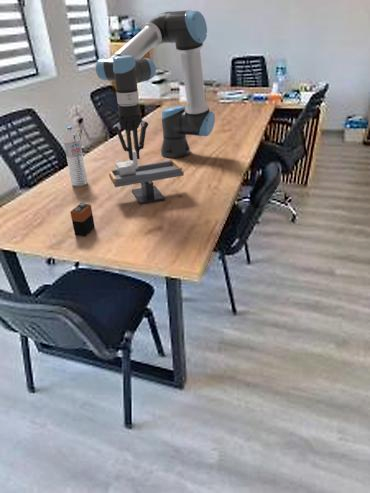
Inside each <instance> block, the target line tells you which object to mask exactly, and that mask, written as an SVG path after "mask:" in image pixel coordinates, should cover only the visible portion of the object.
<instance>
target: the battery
mask: <svg viewBox="0 0 370 493" xmlns="http://www.w3.org/2000/svg"><path fill="white" fill-rule="evenodd" d="M70 217H71V222H72V226H73V231H74V235H75V236H79V237H87V236H88V235H89V234H90V233H92V231H93V230H95V221H94V216H93V209H92V206H91V204H90V203H89V204H88V203H86V202H85V201H82V202H80V203H79V204H78V205H76V206H75V207H74V208H73V209H72V210H71V211H70Z"/></svg>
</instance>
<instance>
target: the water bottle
mask: <svg viewBox="0 0 370 493" xmlns="http://www.w3.org/2000/svg"><path fill="white" fill-rule="evenodd" d="M66 129H67V131H66V132H65V133H64V135H63V137H62V141H63V143H64V149H65V154H66V162H67V165H68V166H67V168H68V172H69V176H70V181H71V184H72V186H73V187H76V188H80V187H84V186H87V184H88V177H87V172H86V166H85V160H84V155H83V151H82V143H81V137H80V135H79V134H78V133H77V132H76V131H75V130H73V128H72V126H67V127H66Z"/></svg>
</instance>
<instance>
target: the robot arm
mask: <svg viewBox="0 0 370 493" xmlns="http://www.w3.org/2000/svg"><path fill="white" fill-rule="evenodd" d="M207 33H208V27H207V22H206V19H205V16H204V15H203V13H202V12H201V11H198V10H190V9H189V10H177V11H175V10H173V11H165V12H162V13H159V14H157V15H156V16H154V17H152V18H151V19H149V20H148V21H147V22H146V23H144V24H143V25H142V27H141V31H139V32H138V33H137V34H135V36H134V37H132V38H131V39H130V40H128V42H126V43H125V44H124V45H123V46H122V47H120V49H118V50H117V51H116V52H115V53H113V54H112V55H111V56H110V57H108V58H105V57H104V58H100V59H98V60H97V61H96V64H95V72H96V75H97V77H98V78H99V79H100V80H101V81H108V82H110V81H111V82H112V81H113V82H115V91H116V92H115V94H116V100H117V102H116V103H117V104H118V105H117V109H118V117H119V118H118V120H117V121H118V122H117V123H116V124H113V126H112V128H113V129H114V130H115V132H116V134H117V136H118V138H119V142H120V145H121V147H122V149H123V151H124V152H127V153H128V160H129V161H132V162H133V163H134V165H135V169H138V166H139V165H138V164H139V163H138V160H140V158H141V157H140V150H142V149H144V147H145V139H146V132H147V128H148V126H149V123H148V122H147V121H146V120H143V118H142V117H141V111H140V110H141V109H140V104H139V102H140V100H139V91H138V84H140V83H143V82H148V81H151V80H152V79H153V78H155V75H156V65H155V63H154V61H153V60H152V59H151V58H148V57H144V56H145V55H146V54H147V53H149V51H150V50H152V48H157V47H159V46H160V45H161V44H166V43H167V44H169V43H170V44H175V47H176V51H178V53H180V61H181V67H182V76H183V83H184V91H185V98H186V106H184V105H174V106H170V107H169V106H168V107H166V108H164V109H163V110H162V111H161V125H162V139H163V140H162V144H161V146H160V147H161V148H160V154H161V156H162V157H165V158H170V159H173V158H174V159H175V158H176V159H177V158H178V159H179V158H182V157H183V156H184V157H186V155H187V156H189V155H190V154H189V153H191V148H190V145H189V143H188V140H187V135H188V136H194V137H208V136H209V135H210V134H211V133H212V132H213V129H214V126H215V123H216V122H215V121H216V116H215V112H213V111H212V110H210V105H209V104H207V102H206V96H205V87H204V86H205V85H204V77H203V66H202V58H201V57H202V56H201V49H202V47H203V45H204V43H205V41H206V39H207V36H208V34H207ZM140 126H141V127H140ZM121 127H122V128H121ZM139 127H140V136H138V129H139ZM122 129H124V130H125V136H126V137H125V138H126V142H125V138H124V136H123V134H122V131H121V130H122ZM131 132H132V133H131ZM132 138H133V139H132ZM132 140H133V145H132ZM133 147H134V149H133ZM188 154H189V155H188ZM184 157H183V158H184Z"/></svg>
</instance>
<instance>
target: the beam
mask: <svg viewBox="0 0 370 493" xmlns="http://www.w3.org/2000/svg"><path fill="white" fill-rule="evenodd" d="M135 170H136V175H134V176H128V177H122V178H119V177H118V174H117V168H116V169H111V170H110V171H108V178H109V179H110V180H111V182H112V184H113V185H114V188H118V187H125V186H132V185H139V184H141V183H143V182H148V183H149V184H151V183H152V182H155V181H159V180H164V179H165V180H166V179H167V180H168V179H172V178H178V177H182V176H185V175H184V172H183V167H182V166H181V165H180V164H179V163H178V162H177V161H176V160H166V161H159V162H153V163H147V164H141V165H138V169H135ZM151 181H152V182H151Z"/></svg>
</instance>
